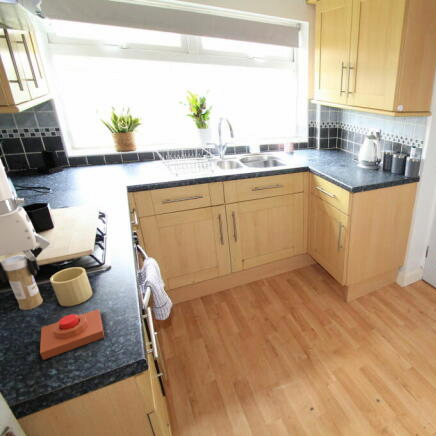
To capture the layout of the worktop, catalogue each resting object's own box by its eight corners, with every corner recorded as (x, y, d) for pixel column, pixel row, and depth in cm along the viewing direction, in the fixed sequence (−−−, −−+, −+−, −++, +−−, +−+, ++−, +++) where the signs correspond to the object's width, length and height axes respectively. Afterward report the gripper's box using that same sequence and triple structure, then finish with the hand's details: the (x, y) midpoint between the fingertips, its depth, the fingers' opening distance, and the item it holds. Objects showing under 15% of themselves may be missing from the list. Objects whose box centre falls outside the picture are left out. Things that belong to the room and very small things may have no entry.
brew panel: (43, 360, 74) (37, 347, 72) (44, 334, 81) (39, 321, 79) (104, 337, 81) (100, 325, 79) (100, 315, 88) (96, 303, 86)
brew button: (60, 332, 77) (58, 326, 76) (60, 323, 79) (58, 318, 79) (79, 325, 79) (77, 320, 78) (78, 317, 82) (76, 312, 81)
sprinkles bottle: (46, 303, 82) (29, 258, 77) (23, 313, 78) (4, 266, 73) (39, 296, 84) (22, 252, 79) (16, 305, 80) (-3, 260, 75)
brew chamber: (59, 310, 89) (49, 286, 86) (59, 295, 95) (50, 272, 91) (93, 299, 94) (86, 276, 90) (91, 285, 99) (84, 264, 96)
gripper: (43, 195, 78) (64, 260, 85) (-59, 208, 68) (-27, 279, 76) (42, 205, 73) (64, 273, 80) (-69, 220, 63) (-33, 296, 70)
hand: (20, 275), depth 78 cm, fingers closed on sprinkles bottle, 4 cm apart
